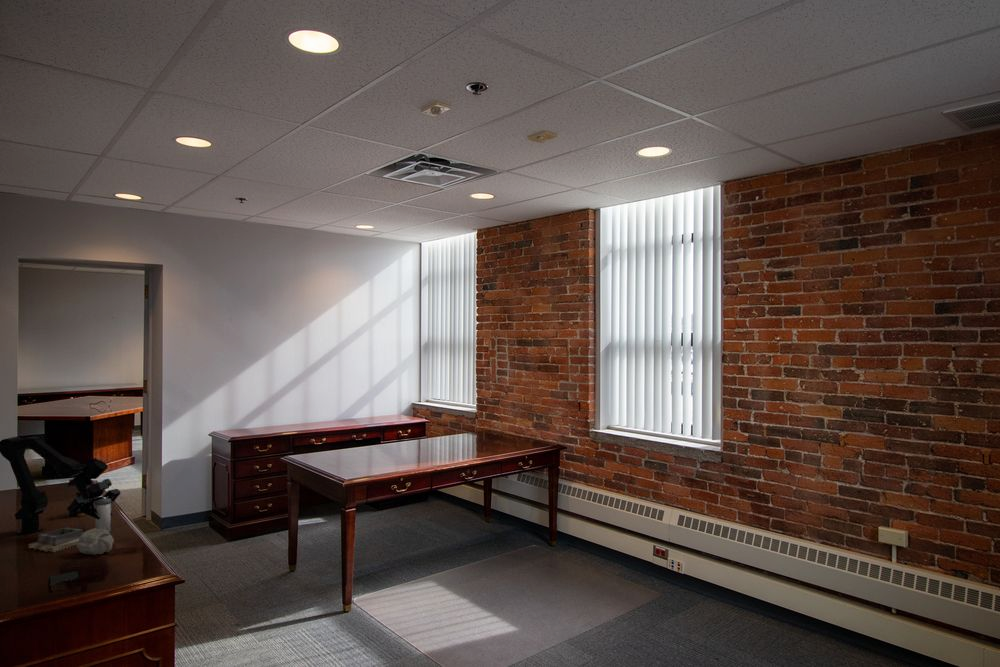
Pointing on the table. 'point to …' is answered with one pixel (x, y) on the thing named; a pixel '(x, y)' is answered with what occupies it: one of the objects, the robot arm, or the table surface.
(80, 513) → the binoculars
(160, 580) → the table surface
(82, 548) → the fossil replica
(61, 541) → the collar
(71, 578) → the phone
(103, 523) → the tube
